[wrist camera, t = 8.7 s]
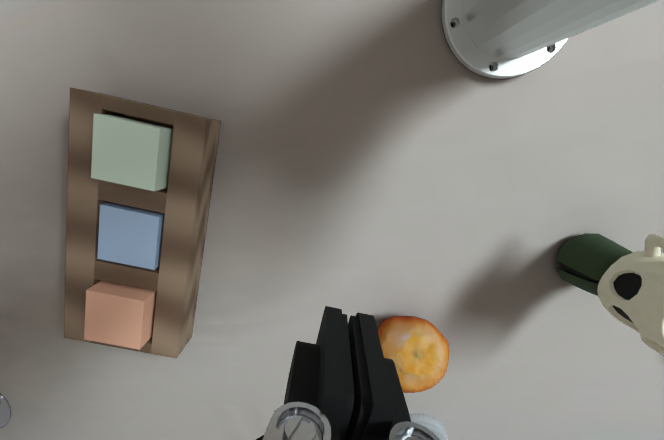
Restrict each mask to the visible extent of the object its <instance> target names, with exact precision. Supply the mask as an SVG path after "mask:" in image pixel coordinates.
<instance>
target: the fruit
mask: <svg viewBox="0 0 664 440" xmlns="http://www.w3.org/2000/svg"><path fill="white" fill-rule="evenodd" d="M378 335H379V339H380V343H381V347H382V351H383V355H384V358H388V359H392V360H393V361H394V363H395V366H396V370H397V373H398V377H399V380H400V384H401V387H402V391H403V392H404V393H414V392H421V391H424V390H427V389H429V388H432V387H433V386H434V385H436V384H437V383H439V381H440V380H441V379H442V378H443V376H444V375H445V372H446V370H447V366H448V359H449V348H448V341H447V340H446V339H445V338H444V336H443V335H442V334H441V333H440V332H439V330H438V329H437V328H436V327H435V326H434V325H433V324H432V323H430V322H429V321H427V320H424V319H421V318H418V317H413V316H393V317H390V318H388V319H386V320H385V321H383V323H382V324H381V325H380V327H379V329H378Z"/></svg>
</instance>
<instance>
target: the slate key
mask: <svg viewBox="0 0 664 440" xmlns="http://www.w3.org/2000/svg"><path fill="white" fill-rule="evenodd" d="M164 218H165V214H164V213H160V212H155V211H150V210H146V209H141V208H136V207H131V206H127V205H122V204H117V203H112V202H108V203H104V204H101V205H100V215H99V235H98V255H97V259H102V260H107V261H112V262H117V263H122V264H127V265H132V266H137V267H142V268H147V269H152V270H155V269H156V268H157V267H159V266H160V258H161V248H162V238H163V228H164Z"/></svg>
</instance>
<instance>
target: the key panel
mask: <svg viewBox="0 0 664 440" xmlns="http://www.w3.org/2000/svg"><path fill="white" fill-rule="evenodd" d="M94 114H104V115H115V116H120V117H124V118H129V119H133V120H137V121H142V122H146V123H151V124H155V125H159V126H164V127H168V128H173V129H174V130H173V139H172V149H171V159H170V169H169V179H168V187H167V188H164V189H161V190H157V191H150V190H145V189H141V188H136V187H131V186H127V185H122V184H117V183H113V182H108V181H103V180H99V179H94V178H91V165H92V141H93V118H94ZM220 124H221V121H218V120H214V119H209V118H205V117H201V116H196V115H192V114H188V113H183V112H179V111H175V110H170V109H166V108H162V107H157V106H153V105H149V104H144V103H140V102H136V101H131V100H127V99H123V98H118V97H114V96H110V95H105V94H101V93H96V92H91V91H85V90H80V89H75V88H70V114H69V154H68V194H67V234H66V274H65V314H64V338H69V339H75V340H80V341H86V342H91V343H96V344H102V345H107V346H113V347H118V348H124V349H129V350H134V351H140V352H145V353H151V354H156V355H161V356H167V357H172V358H177V357H178V356H179V354H180V353H181V351H182V350H183V348H184V347H185V346H186V344H187V343H188V341H189V340H190V338H191V337H192V331H193V324H194V316H195V309H196V301H197V294H198V287H199V279H200V272H201V264H202V257H203V250H204V242H205V235H206V228H207V220H208V213H209V205H210V198H211V191H212V183H213V176H214V168H215V161H216V154H217V146H218V139H219V131H220ZM108 202H112V203H117V204H122V205H127V206H131V207H136V208H141V209H146V210H150V211H155V212H160V213H164V214H165V218H164V228H163V238H162V248H161V258H160V266H159V267H157V268H156V269H155V270H152V269H147V268H142V267H137V266H132V265H127V264H122V263H117V262H112V261H107V260H102V259H97V255H98V235H99V215H100V205H101V204H104V203H108ZM101 280H103V281H108V282H113V283H119V284H124V285H129V286H134V287H139V288H144V289H149V290H154V291H157V297H156V307H155V317H154V327H153V336H152V337H151V338H150V339H149V340H148V341H147V342H146V343H145V344H144V346H143V347H142V348H141V349H140V350H139V349H133V348H128V347H123V346H117V345H112V344H106V343H101V342H96V341H90V340H85V339H84V329H85V306H86V290H87V289H89V288H90V287H92V286H93V285H95V284H97V283H98V282H100V281H101Z"/></svg>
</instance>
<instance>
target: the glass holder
mask: <svg viewBox="0 0 664 440" xmlns="http://www.w3.org/2000/svg"><path fill="white" fill-rule="evenodd" d="M410 419H411V422H414V423H417V424H420V425H422V426H424V427H426V428H427V429H429V430H430V431H432V432H433V433H434V434H435V435H436V436H437V437H438V438H439V439H440V440H448V435H447V432H446V429H445V427H444V426H443V425H442V424H441V423H440V422H439V421H438V420H437V419H435V418H433V417H431V416H427V415H422V414H412V415H410Z"/></svg>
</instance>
